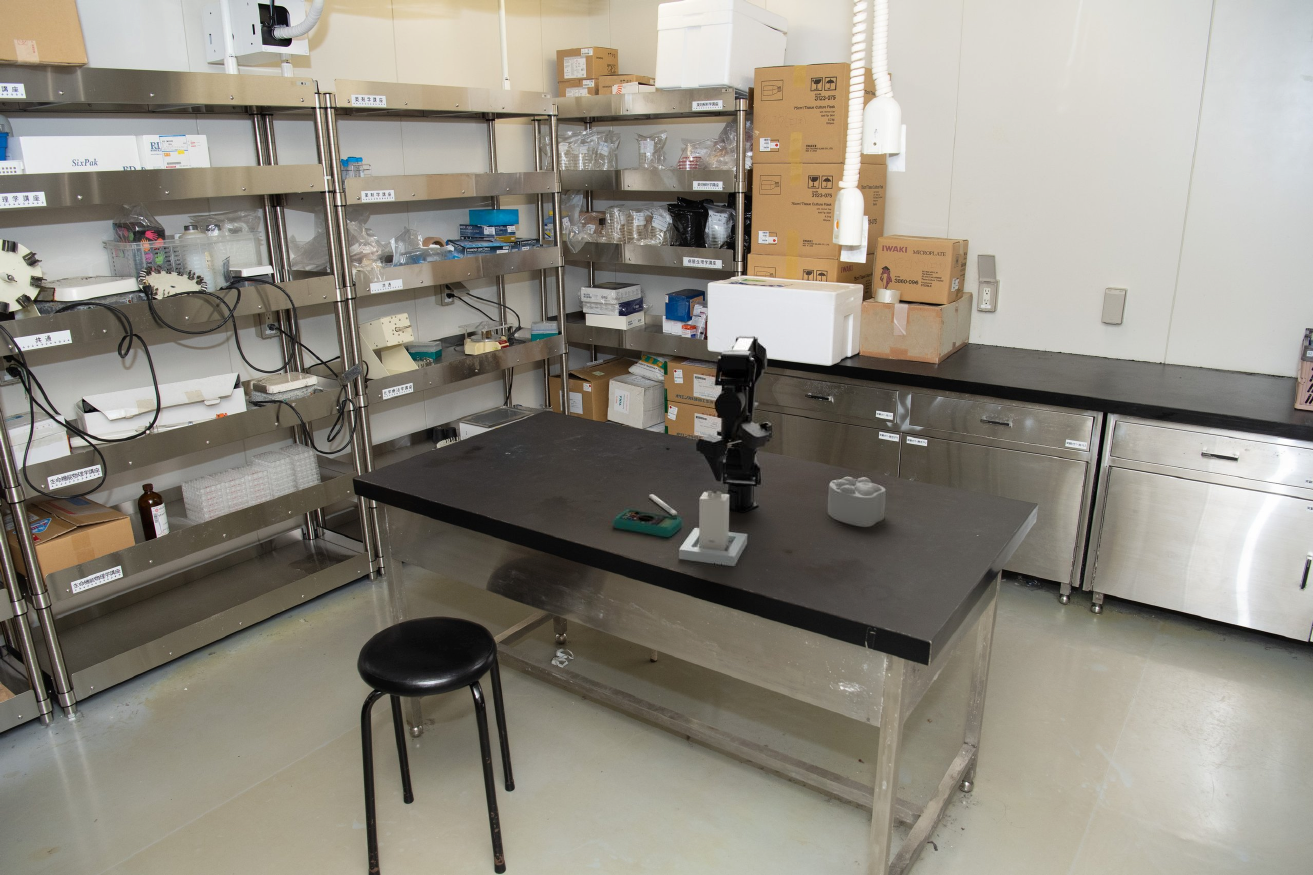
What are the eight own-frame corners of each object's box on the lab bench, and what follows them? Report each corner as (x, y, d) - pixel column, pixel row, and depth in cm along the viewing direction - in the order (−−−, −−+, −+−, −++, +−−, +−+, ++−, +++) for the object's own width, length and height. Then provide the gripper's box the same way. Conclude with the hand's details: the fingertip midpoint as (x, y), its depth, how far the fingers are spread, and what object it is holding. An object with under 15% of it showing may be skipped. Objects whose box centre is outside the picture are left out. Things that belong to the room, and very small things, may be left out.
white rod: (649, 498, 218) (648, 493, 218) (653, 497, 218) (653, 493, 218) (672, 516, 206) (672, 512, 206) (677, 515, 207) (677, 511, 206)
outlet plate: (694, 536, 195) (694, 527, 194) (747, 543, 191) (747, 534, 190) (679, 558, 184) (679, 549, 183) (734, 566, 180) (734, 556, 179)
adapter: (704, 540, 190) (704, 486, 186) (728, 543, 188) (729, 489, 184) (699, 548, 186) (699, 493, 182) (724, 551, 184) (724, 495, 181)
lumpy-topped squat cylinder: (865, 529, 198) (868, 493, 195) (817, 514, 207) (819, 480, 204) (888, 516, 205) (891, 482, 203) (841, 502, 214) (843, 469, 211)
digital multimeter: (626, 518, 207) (625, 506, 206) (682, 528, 200) (682, 516, 200) (611, 529, 200) (611, 517, 199) (669, 540, 194) (669, 527, 193)
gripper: (733, 422, 178) (731, 494, 182) (790, 408, 190) (787, 476, 194) (694, 413, 186) (693, 482, 189) (751, 400, 198) (749, 466, 202)
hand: (732, 477), depth 194 cm, fingers open, 9 cm apart
